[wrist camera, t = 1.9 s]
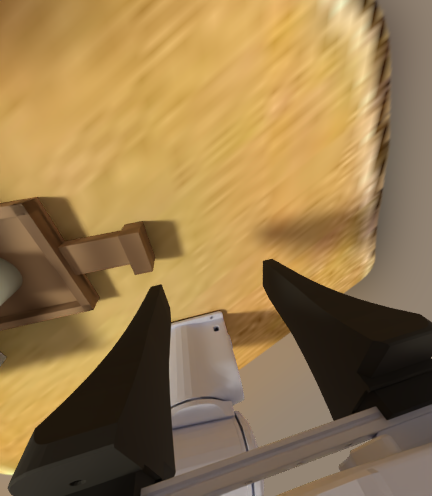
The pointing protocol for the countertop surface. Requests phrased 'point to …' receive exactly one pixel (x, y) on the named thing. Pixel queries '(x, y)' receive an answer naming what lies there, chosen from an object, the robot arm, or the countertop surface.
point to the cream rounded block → (8, 280)
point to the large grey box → (2, 358)
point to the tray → (60, 263)
